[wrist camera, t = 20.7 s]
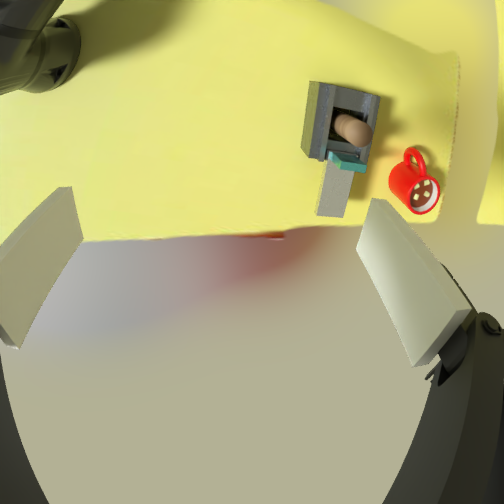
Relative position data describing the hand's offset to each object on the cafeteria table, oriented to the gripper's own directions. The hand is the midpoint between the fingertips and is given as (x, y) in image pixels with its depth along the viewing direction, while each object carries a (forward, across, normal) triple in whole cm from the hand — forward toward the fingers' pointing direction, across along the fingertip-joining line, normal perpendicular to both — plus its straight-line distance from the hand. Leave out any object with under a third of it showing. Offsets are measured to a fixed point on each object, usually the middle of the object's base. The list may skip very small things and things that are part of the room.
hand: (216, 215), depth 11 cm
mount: (+37, +17, 0) cm, 40 cm away
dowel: (+37, +17, 0) cm, 40 cm away
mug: (+37, +34, -7) cm, 51 cm away
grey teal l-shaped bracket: (+30, +17, -10) cm, 36 cm away
